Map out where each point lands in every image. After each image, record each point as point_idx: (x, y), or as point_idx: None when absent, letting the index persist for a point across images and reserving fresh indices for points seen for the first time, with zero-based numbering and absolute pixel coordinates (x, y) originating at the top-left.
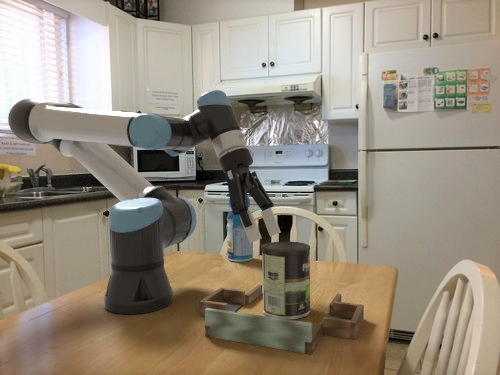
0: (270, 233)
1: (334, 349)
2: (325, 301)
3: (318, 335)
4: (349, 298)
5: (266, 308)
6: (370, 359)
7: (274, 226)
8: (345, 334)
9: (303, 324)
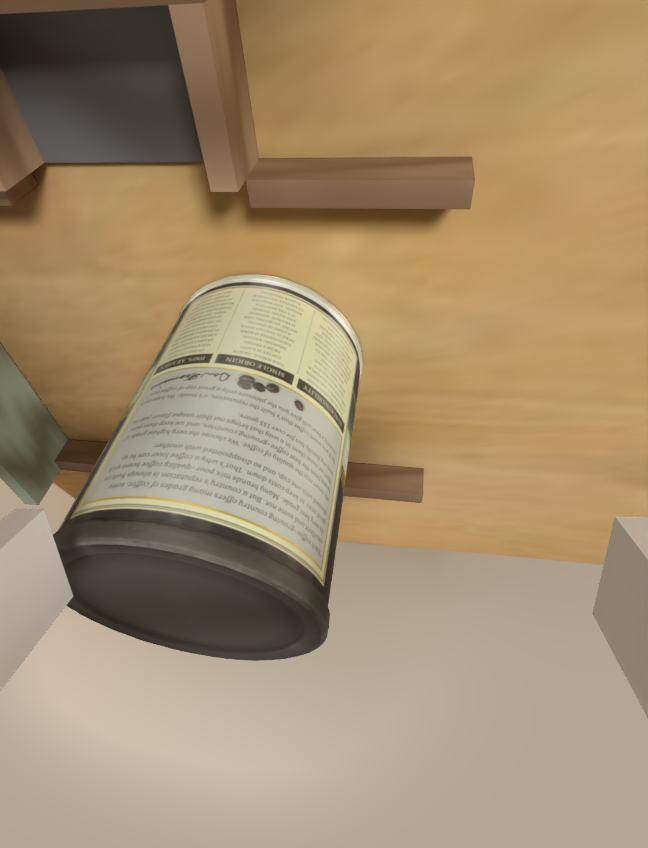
0: (626, 551)
1: None
2: (422, 443)
3: None
4: (474, 491)
5: (175, 324)
6: None
7: (636, 660)
8: None
9: (16, 492)
